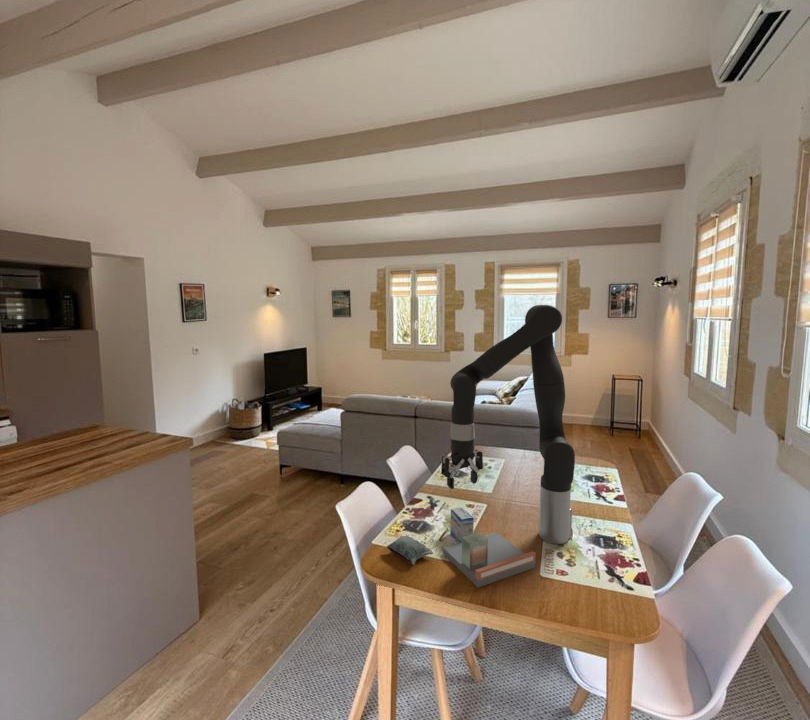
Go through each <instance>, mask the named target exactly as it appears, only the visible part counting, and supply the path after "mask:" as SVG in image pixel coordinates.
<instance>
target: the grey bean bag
mask: <svg viewBox="0 0 810 720" xmlns="http://www.w3.org/2000/svg"><path fill="white" fill-rule="evenodd" d="M386 548H387V549H388V550H389V551H390V553H392V554H394V555H395V556H398V557H399V558H401V559H402V560H404V561H405V562H407V563H408V564H410V565H411V564H412V565H413V566H414V565H416V561H418V560H420V559H421V558H423V557H425V556H428V555H433V554H434V552H433V550H431V548H429V547H427V546H426V545H425V544H423V543H421V542H419V541H418V540H417V539H414V538H412V537H411V536H409V535H408V534H405V535H404V536H403V535H400V536H399V538H397V539H396V540H394V541H393V542H391V543H390V544H388V545H386Z"/></svg>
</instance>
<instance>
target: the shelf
mask: <svg viewBox="0 0 810 720" xmlns="http://www.w3.org/2000/svg"><path fill="white" fill-rule="evenodd" d="M483 535H484V536H485V537H486V538H488V563H487V566H484V567H481V568H478V569H475V570H471V571H469V570H468V569H467V568H466V567H465V566H464V565H463V564H462V542H460V543H459V542H457V543H455V544H450V545H448V546H443V547H442V553H443V555H444V556H445V557H446V558H447V559H448V560H449V561H450V563H452V564H453V565H454V566H455V567H456V568H457V569H458V570H459V571H460V572H461V573H462V575H464V576H465V577H466V578H467V579H468V580H469V581H471V583H472V584H474V586H475V587H476V588H481V587H483V586H487V585H489V584H493V583H494V582H495V583H496V582H498V581H501V580H504V579H507V578H510V577H511V576H512V577H513V576H515V575H518V574H521V573H523V572H526V571H529V570H532V569H535V568H536V552H534V550H533V551H529V552H527V553H525V552H523V550H521V548H518V547H517V546H515V545H514V544H513V543H512V542H510V541H509V540H508V539H506V538H505V537H503V535H501V534H499V532H497V531H495V532H491V533H489V534H486V535H485V534H483Z"/></svg>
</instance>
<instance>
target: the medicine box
mask: <svg viewBox="0 0 810 720" xmlns="http://www.w3.org/2000/svg"><path fill="white" fill-rule="evenodd" d="M474 519H475V518H474V517H473V516H472V515H471V514H470V513H469V512H468V511H467V510H465V508H463V507H456V508H455V507H454V508H451V509H450V532H449V533H450V535H451V536H452V537H453V538H454V539H455V540H456V541H457V543H460V542H462V537H464V536H468V535H471V534H474V522H475V521H474Z"/></svg>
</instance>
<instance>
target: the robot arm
mask: <svg viewBox="0 0 810 720" xmlns="http://www.w3.org/2000/svg"><path fill="white" fill-rule="evenodd" d="M562 323H563V315H562V313H561V311H560V310H559V309H558V308H557V307H555V306H554V305H550V304H536V305H534V306H532V307H530V308H529V309H528V311H527V312H526V314H525V317H524V324H523V325H522V326H521V327H520V328H519V329H517V330H516V331H515V332H513V333H512V334H511V335H509V336H508V337H506V338H505V339H502V340H501V341H499V342H497V343H495V344H494V345H493V346H491V347H490V348H489V349H487V350H486V351H485V352H483V353H482V354H481V355H480V356H479V357H477V358H476V359H475V360H474V361H473V362H471V363H469V364H467V365H465V366H464V367H463V368H461V369H460V370H458V371H456V372H455V374H453V376H451V379H450V381H449V382H450V383H449V384H450V387H451V389H452V391H453V392H452V394H453V395H452V396H453V398H452V399H453V403H452V404H453V405H452V406H451V422H450V423H451V424H450V452H451V453H450V456H445V455H444V456H442V457H441V471H440V472H441V473H440V474H441V475H442V476H444V477H445V478H446V486H447V487H448V488H449V489H450V490H453V489H454V488H455V478H454V476H455V475H456V473H458V472H459V470H460V469H464V468H465V469H466V468H469V469H470V482H471V483H472V484H477V482H478V472H479V471H480V470H481V471H482V470H483V469H484V459H483V451H480V450H479V449H476V448H475V445H476V443H475V441H476V437H475V436H476V435H475V434H476V431H475V429H476V428H475V403H476V397H477V384H478V383H480V382H482V381H483V380H486V379H489V378H492V377H493V376H495V375H496V373H497V372H499V371H500V370H502V368H504V367H505V366H507V364H509V363H510V362H511V361H513V360H514V359H515V358H516V357H518V356H519V355H521V354H522V353H523V352H524V351H526V350H527V349H530V354H531V355H530V356H531V357H530V359H531V369H532V370H531V371H532V384H533V392H534V398H535V406H536V411H537V417H538V423H539V424H538V425H539V431H538V432H539V439H538V440H539V444H538V445H539V452H540V456H541V457H542V459H543V461H544V462H543V474H542V475H540V486H539V487H540V489H539V490H540V491H539V521H538V522H539V524H538V529H539V531H538V535H539V536H538V537H539V538H540V539H541V540H543V541H544V542H546V543H548V544H553V545H562V544H566V543H567V542H569V540H570V539H571V538H572V528H573V527H572V526H573V525H572V524H573V523H572V522H573V521H572V519H573V509H572V508H571V497H572V496H571V493H572V483H573V481H574V475H575V461H576V455H575V450H574V448H573V446H572V445H571V444H570V443H569V442H568V441H567V439H566V435H565V431H564V424H563V414H564V413H563V412H564V409H565V403H566V389H565V388H566V387H565V386H566V385H565V379H564V373H563V369H562V367H561V364H560V362H559V359H558V356H557V354H556V350H555V346H554V336H553V334H554V333H556V332H557V331H558V330H559V329H560V327H561V325H562ZM474 459H475V463H474V461H473V460H474Z"/></svg>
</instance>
